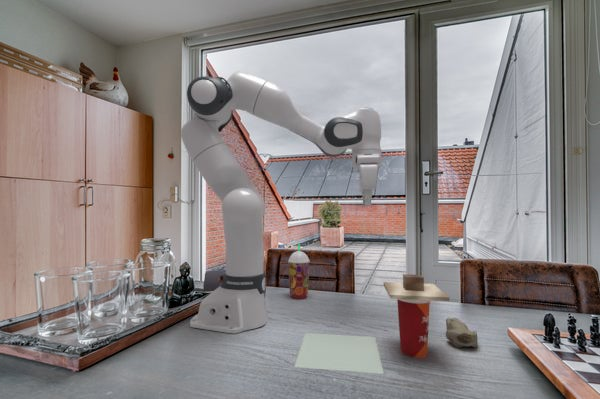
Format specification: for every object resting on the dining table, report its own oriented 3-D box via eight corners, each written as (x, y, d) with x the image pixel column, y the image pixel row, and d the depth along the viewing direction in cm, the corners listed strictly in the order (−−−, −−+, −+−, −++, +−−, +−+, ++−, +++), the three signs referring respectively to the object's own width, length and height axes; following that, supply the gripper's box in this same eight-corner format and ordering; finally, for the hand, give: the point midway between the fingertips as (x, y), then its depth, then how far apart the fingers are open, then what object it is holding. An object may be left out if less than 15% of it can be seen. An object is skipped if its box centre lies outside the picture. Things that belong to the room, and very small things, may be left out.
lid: (390, 298, 67) (390, 280, 67) (383, 285, 79) (383, 270, 79) (449, 301, 65) (449, 282, 66) (433, 287, 77) (433, 271, 77)
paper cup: (435, 363, 67) (434, 298, 68) (398, 360, 69) (397, 296, 69) (428, 347, 75) (427, 289, 75) (394, 345, 76) (394, 287, 77)
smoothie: (297, 292, 124) (297, 242, 125) (314, 296, 119) (314, 243, 119) (283, 297, 118) (283, 244, 118) (300, 301, 112) (300, 245, 113)
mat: (294, 369, 65) (294, 367, 65) (305, 334, 82) (305, 332, 83) (383, 376, 62) (383, 373, 62) (375, 339, 80) (375, 337, 80)
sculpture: (437, 330, 88) (449, 349, 73) (437, 313, 88) (450, 328, 74) (464, 334, 86) (483, 354, 72) (465, 316, 87) (483, 333, 72)
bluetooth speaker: (266, 292, 125) (266, 267, 125) (265, 299, 116) (265, 271, 116) (208, 293, 124) (208, 267, 124) (202, 300, 114) (203, 272, 115)
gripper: (355, 166, 107) (355, 206, 107) (357, 156, 87) (357, 205, 86) (374, 165, 106) (374, 206, 106) (380, 155, 86) (381, 205, 85)
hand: (366, 206), depth 96 cm, fingers open, 8 cm apart
